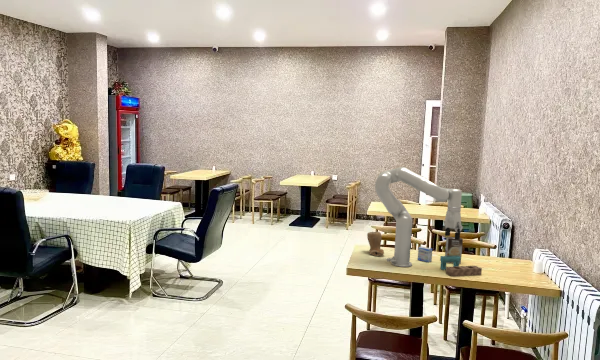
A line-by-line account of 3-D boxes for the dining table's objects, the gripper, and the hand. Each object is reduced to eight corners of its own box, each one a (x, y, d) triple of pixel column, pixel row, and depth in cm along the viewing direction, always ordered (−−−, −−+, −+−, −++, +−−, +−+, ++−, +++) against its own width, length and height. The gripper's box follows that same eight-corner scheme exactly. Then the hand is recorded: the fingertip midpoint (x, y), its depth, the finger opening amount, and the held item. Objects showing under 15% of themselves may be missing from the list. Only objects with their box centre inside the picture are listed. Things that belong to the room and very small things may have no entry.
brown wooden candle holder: (452, 276, 267) (452, 269, 267) (445, 273, 273) (446, 266, 272) (481, 275, 273) (481, 268, 273) (474, 272, 279) (475, 265, 278)
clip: (442, 270, 280) (443, 257, 279) (439, 268, 282) (440, 256, 282) (459, 269, 283) (460, 256, 282) (456, 268, 286) (457, 255, 285)
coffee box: (446, 263, 297) (448, 238, 295) (444, 260, 303) (446, 236, 302) (461, 264, 296) (463, 239, 295) (458, 261, 302) (460, 237, 301)
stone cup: (366, 250, 322) (367, 229, 320) (384, 252, 319) (385, 230, 318) (365, 255, 307) (366, 233, 306) (383, 257, 305) (385, 235, 303)
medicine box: (417, 260, 301) (418, 247, 301) (420, 259, 305) (421, 246, 304) (428, 262, 296) (429, 249, 295) (431, 261, 299) (432, 248, 299)
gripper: (440, 207, 287) (438, 234, 288) (457, 211, 270) (455, 240, 272) (450, 207, 289) (449, 234, 290) (468, 211, 272) (466, 240, 274)
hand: (452, 237), depth 281 cm, fingers open, 9 cm apart
